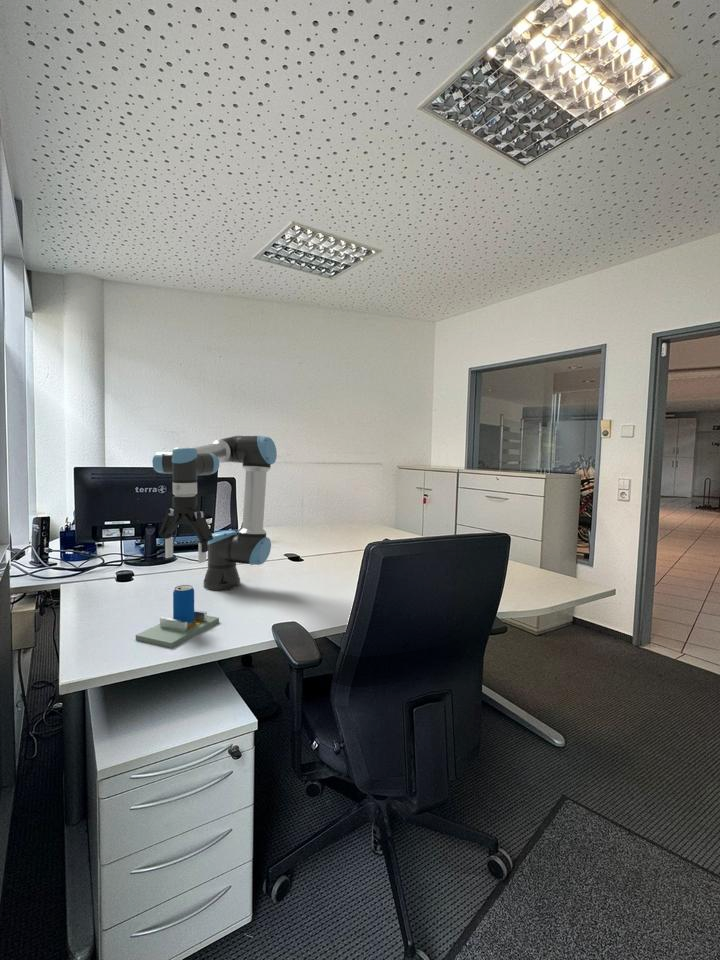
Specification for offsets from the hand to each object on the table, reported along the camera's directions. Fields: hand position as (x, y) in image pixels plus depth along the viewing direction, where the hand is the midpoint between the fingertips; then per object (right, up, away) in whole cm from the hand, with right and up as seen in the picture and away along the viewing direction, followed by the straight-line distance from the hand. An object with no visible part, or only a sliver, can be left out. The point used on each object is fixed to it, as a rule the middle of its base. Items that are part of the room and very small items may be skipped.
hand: (185, 559), depth 150 cm
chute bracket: (-1, -21, +1) cm, 21 cm away
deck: (-2, -23, -1) cm, 23 cm away
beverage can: (-1, -21, +1) cm, 21 cm away
